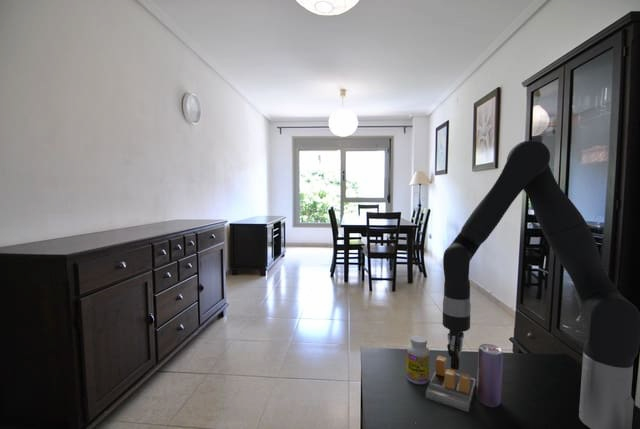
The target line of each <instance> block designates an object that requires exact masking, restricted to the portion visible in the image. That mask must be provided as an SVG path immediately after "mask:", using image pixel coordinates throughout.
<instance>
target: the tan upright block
mask: <svg viewBox="0 0 640 429" xmlns="http://www.w3.org/2000/svg"><path fill="white" fill-rule="evenodd" d="M459 374H460V377H459V391H460V392H463V393H466V394H469V393H470V379H471V378H472V377H471V376H472V375H471V374H468V373H464V372H462V371H461V372H460V373H459Z"/></svg>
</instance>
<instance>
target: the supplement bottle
mask: <svg viewBox="0 0 640 429" xmlns="http://www.w3.org/2000/svg"><path fill="white" fill-rule="evenodd" d="M410 337H411V338H410V344H408V345H407V347H406V349H407V350H406V368H405V369H406V370H405V371H406V373H405V375H406V378H407V380H408V381H409V382H410V383H413V384H416V385H425V384H427V383H429V382H428V381H429V380H430V379H429V378H430V376H429V375H430V354H431V352H430V348H429V347H428V346H427V344H428V339H427V338H426V337H424V336H422V335H412V336H410Z"/></svg>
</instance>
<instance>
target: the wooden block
mask: <svg viewBox="0 0 640 429" xmlns="http://www.w3.org/2000/svg"><path fill="white" fill-rule="evenodd" d="M446 370H447V357H445V356H441V355H437V357H436V359H435V371H436V374H437V375H441V376H445V372H446Z"/></svg>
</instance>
